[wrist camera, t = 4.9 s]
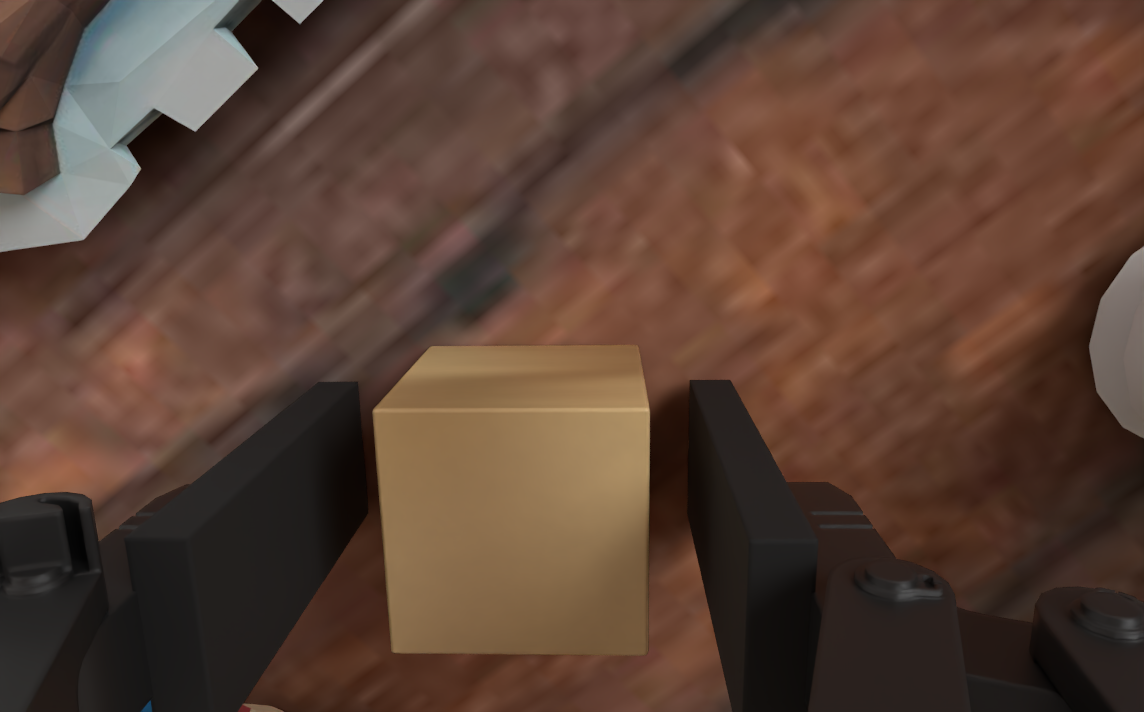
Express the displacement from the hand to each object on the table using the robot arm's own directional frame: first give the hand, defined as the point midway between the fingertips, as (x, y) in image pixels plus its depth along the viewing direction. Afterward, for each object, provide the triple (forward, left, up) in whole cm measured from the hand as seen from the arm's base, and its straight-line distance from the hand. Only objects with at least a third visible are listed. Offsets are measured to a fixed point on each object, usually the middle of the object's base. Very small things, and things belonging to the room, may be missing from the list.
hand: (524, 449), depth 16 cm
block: (0, 0, 0) cm, 0 cm away
